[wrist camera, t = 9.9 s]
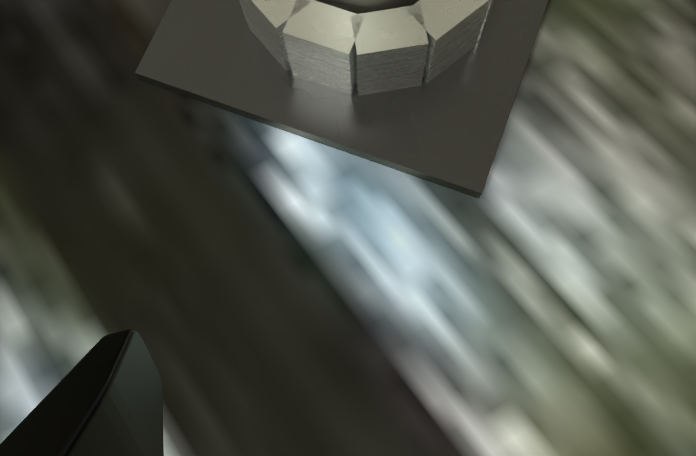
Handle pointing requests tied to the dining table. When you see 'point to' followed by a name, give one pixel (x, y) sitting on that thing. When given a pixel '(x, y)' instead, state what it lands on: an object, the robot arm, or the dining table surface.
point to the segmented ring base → (358, 75)
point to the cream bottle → (368, 4)
